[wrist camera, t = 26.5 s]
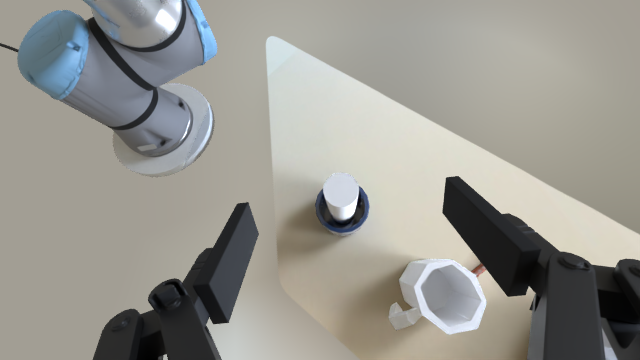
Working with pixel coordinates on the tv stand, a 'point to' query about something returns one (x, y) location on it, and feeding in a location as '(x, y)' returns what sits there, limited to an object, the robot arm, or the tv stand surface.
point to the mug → (439, 296)
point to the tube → (341, 196)
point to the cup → (346, 228)
